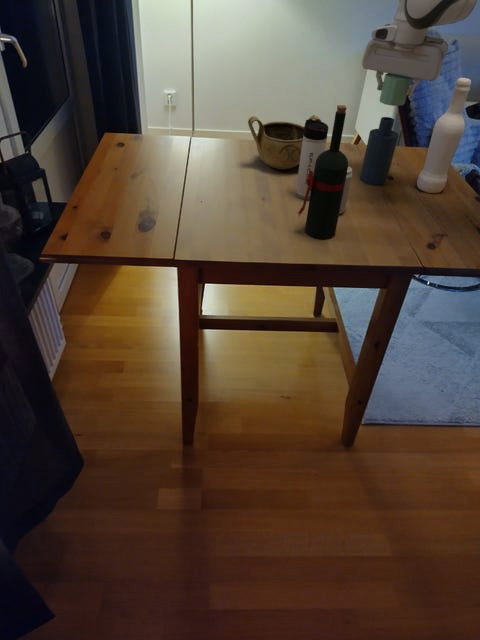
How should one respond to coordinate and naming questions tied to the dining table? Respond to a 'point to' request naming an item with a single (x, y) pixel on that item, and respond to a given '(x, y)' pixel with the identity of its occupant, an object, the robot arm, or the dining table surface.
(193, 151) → the dining table surface
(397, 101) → the paper cup
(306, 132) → the travel mug
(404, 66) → the robot arm
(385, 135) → the water bottle
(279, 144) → the ceramic bowl
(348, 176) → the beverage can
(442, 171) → the bottle
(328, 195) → the wine bottle
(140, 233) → the dining table surface
